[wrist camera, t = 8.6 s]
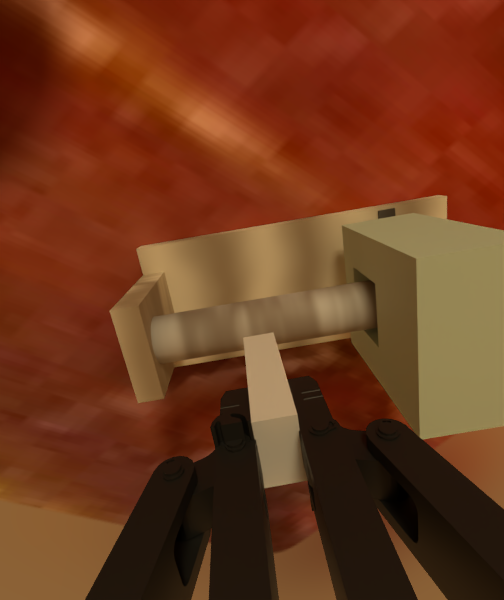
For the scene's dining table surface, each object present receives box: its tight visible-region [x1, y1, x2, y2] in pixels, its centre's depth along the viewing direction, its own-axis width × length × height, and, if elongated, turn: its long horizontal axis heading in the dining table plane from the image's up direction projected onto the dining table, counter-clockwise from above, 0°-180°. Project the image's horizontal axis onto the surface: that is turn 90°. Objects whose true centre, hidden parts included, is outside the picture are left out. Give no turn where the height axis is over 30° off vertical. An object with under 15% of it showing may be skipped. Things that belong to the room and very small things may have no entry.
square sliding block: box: [342, 213, 504, 439], centre depth 21 cm, size 5×9×11 cm, turn 9°
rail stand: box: [110, 195, 447, 403], centre depth 25 cm, size 23×10×9 cm, turn 99°
